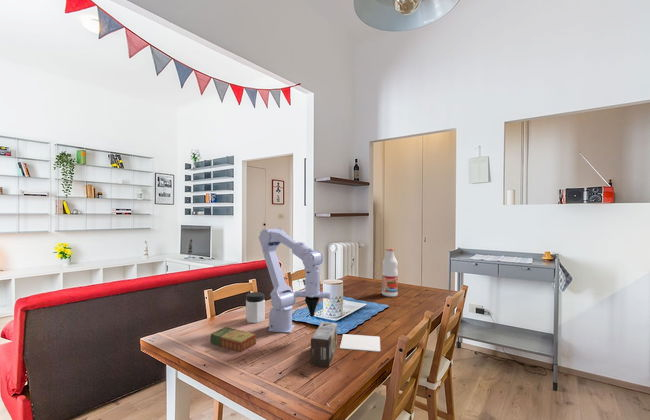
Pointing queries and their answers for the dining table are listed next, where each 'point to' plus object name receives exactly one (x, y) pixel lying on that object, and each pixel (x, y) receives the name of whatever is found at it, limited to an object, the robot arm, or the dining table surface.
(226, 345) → the carton
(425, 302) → the dining table surface
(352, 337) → the mat
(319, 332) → the coffee box
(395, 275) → the fruit juice
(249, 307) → the jar
